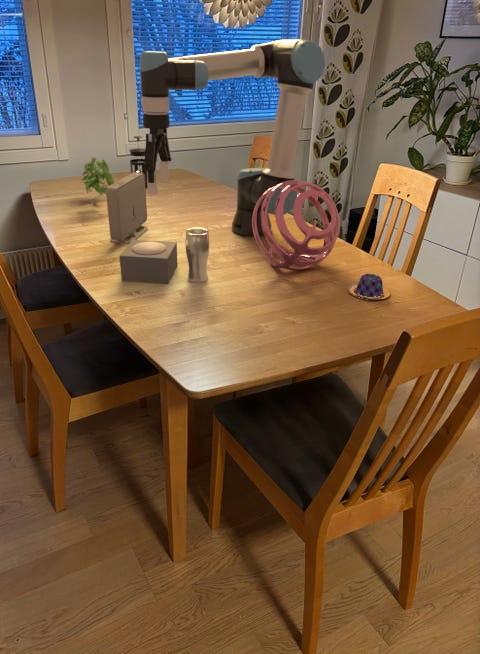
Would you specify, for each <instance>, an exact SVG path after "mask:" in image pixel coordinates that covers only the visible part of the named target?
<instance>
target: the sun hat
mask: <svg viewBox="0 0 480 654" xmlns="http://www.w3.org/2000/svg"><path fill="white" fill-rule="evenodd" d="M355 285H357V288H356V289H355V291H356V293H359V294H360V295H362V296H367V297H374V296H376V297H378V296H381V294H383V287H384V286H383V279H382V278H381V276H379V275H376V274H374V273H365V274H362V275H361V276H360V278H359V281H358V283H354V284H352V285H350V286H349V287H348V292H349V293H350V294H351V295H352V296H354V297H357V296H355V295H354V294H353V293H351V291H350V289H351V288H352V286H355ZM359 294H358V295H359ZM383 295H384V294H383ZM360 297H361V296H360ZM360 297H357V298H358V299H362V300H364V299H363V298H364V297H363V298H360ZM381 297H382V296H381ZM368 299H369V298H368ZM368 299H366V301H367V300H368ZM368 301H369V300H368Z"/></svg>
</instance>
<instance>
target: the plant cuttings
mask: <svg viewBox="0 0 480 654" xmlns="http://www.w3.org/2000/svg"><path fill="white" fill-rule="evenodd" d="M97 159H98V158H97V157H96V156H92V158H91V161H89V162H86V163H85V164H84V171H83V173H82V176H83V178H82V179H81V181H82V183H83V184H84V185H85V191H86V193H87V194H88V193H89V192H91V191H93V190H95V191H96V193H98V194H99V195H98V197H96V196H94V197H93V199H92V201H93V204H94V205H96V204H98V201H100V199H101V197H102V195H104V194H105V195H106V189H107V187H108V186H110V185H112V184H114V183H115V180H114V177H113V175H112V174H111V173H110V168H109V166H108V163H107V162H106V161H105V159H102V160H98V161H97ZM100 170H102V171H100ZM105 180H106V181H105ZM102 181H103V182H102ZM105 182H106V183H107V185H108V186H107V185H106V184H105Z"/></svg>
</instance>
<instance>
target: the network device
mask: <svg viewBox="0 0 480 654" xmlns="http://www.w3.org/2000/svg"><path fill="white" fill-rule="evenodd" d="M146 192H147V188H145V175H144V173H135V172H133V173H132V174H131V173H130V174H128V175H126V176H125V177H122V178H121V179H119V180H117V181H116V182H115V181H114V184H112V185H110V186H109V185H108V186H107V189H106V192H105V193H106V194H105V196H106V204H107V217H108V225H109V227H108V228H109V236H110V242H112V243H113V244H114V243H115V244H128V245H129V243H130V242H131V241H132V240H139V238H140V237H142V236H143V235H144V234H145V233H146V232H148V230H149V228H148V226H146V225H143V224H144V223H146V222H147V220H148V212H147V211H148V208H147V206H148V205H147V193H146ZM144 228H145V229H144ZM137 229H142V230H141V231H139V232H137ZM142 234H143V235H142ZM134 236H135V237H134ZM128 237H132V238H131V240H125V239H126V238H128Z"/></svg>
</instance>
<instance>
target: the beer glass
mask: <svg viewBox="0 0 480 654" xmlns="http://www.w3.org/2000/svg"><path fill="white" fill-rule="evenodd" d="M209 235H210V232H209V230H208V229H206V228H205V227H192V228H191V227H190V228H188V229H186V231H185V254H186V259H187V263H188V274H187V280H188V282H190V283H193V284H196V283H197V284H200V283H205V282H207V281H208V279H209V277H208V272H207V270H208V269H207V267H208V266H207V265H208V260H209V255H210V236H209Z"/></svg>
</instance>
